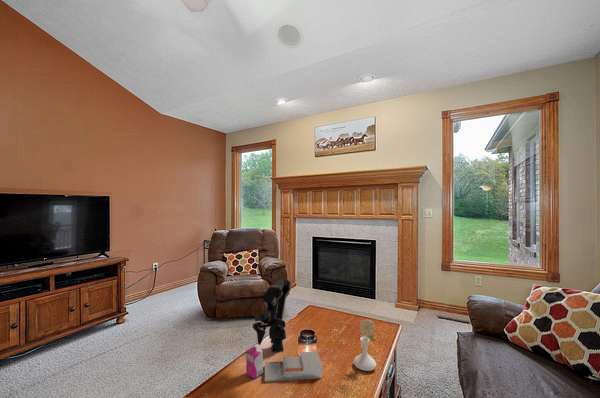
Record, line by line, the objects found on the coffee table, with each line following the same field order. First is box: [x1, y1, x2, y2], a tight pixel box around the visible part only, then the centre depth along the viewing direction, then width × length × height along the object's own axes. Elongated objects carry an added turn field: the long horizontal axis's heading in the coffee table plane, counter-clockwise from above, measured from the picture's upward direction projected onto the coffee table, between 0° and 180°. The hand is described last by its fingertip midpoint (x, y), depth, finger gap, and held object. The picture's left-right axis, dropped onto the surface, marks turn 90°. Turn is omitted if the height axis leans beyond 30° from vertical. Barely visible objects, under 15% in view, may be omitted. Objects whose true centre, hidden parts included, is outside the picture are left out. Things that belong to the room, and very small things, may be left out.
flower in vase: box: [353, 318, 377, 372], centre depth 134 cm, size 13×11×25 cm
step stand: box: [264, 351, 323, 383], centre depth 129 cm, size 12×27×6 cm, turn 97°
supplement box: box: [245, 346, 264, 380], centre depth 127 cm, size 6×6×12 cm
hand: (265, 344), depth 125 cm, fingers open, 9 cm apart
